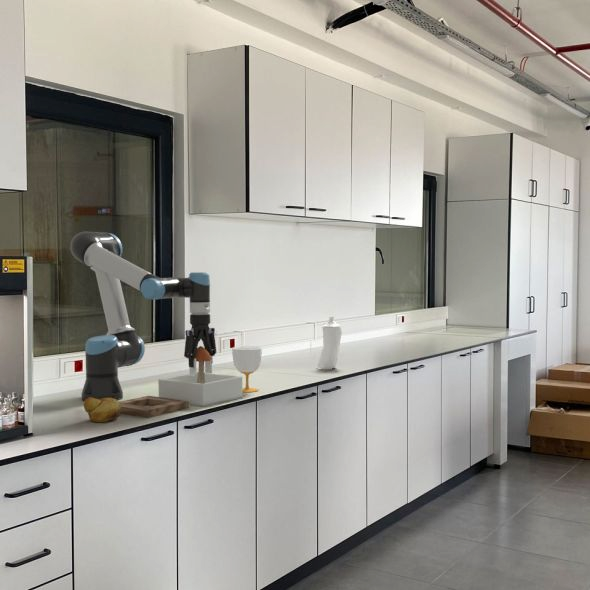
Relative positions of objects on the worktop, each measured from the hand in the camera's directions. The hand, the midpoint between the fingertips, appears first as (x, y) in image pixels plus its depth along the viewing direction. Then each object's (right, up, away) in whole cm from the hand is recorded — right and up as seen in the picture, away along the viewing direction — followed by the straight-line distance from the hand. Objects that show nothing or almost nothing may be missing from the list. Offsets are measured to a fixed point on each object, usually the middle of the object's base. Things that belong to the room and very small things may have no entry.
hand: (200, 374), depth 282 cm
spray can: (+52, -6, +83) cm, 98 cm away
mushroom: (0, -4, 0) cm, 4 cm away
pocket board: (-16, -10, -20) cm, 27 cm away
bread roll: (-26, -11, -35) cm, 46 cm away
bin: (0, -9, 0) cm, 9 cm away
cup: (+16, -9, +20) cm, 27 cm away
